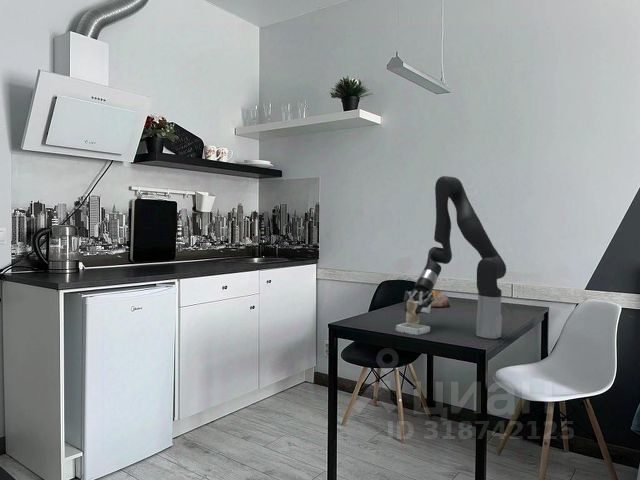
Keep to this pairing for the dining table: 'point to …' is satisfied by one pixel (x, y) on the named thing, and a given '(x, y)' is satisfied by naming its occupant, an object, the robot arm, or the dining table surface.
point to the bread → (439, 299)
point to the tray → (413, 328)
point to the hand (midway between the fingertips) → (411, 312)
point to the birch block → (412, 312)
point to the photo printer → (426, 310)
